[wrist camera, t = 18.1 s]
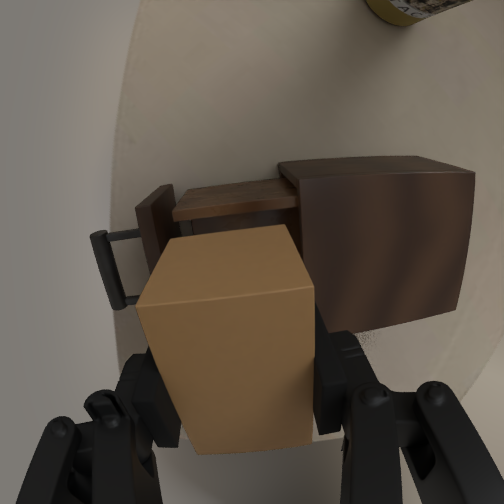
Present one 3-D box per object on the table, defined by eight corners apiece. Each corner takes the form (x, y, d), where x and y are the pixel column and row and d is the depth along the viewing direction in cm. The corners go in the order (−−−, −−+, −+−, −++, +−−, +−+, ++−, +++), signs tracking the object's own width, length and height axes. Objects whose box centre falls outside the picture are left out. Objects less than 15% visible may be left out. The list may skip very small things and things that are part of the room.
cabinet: (287, 284, 33) (305, 341, 24) (278, 162, 28) (298, 179, 19) (410, 266, 33) (455, 310, 24) (416, 155, 28) (475, 172, 19)
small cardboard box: (293, 363, 16) (312, 444, 11) (204, 373, 16) (197, 455, 11) (285, 223, 13) (314, 285, 8) (170, 238, 13) (134, 306, 8)
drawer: (133, 300, 32) (110, 345, 24) (105, 195, 27) (67, 219, 20) (314, 280, 32) (334, 324, 24) (308, 167, 27) (334, 182, 20)
